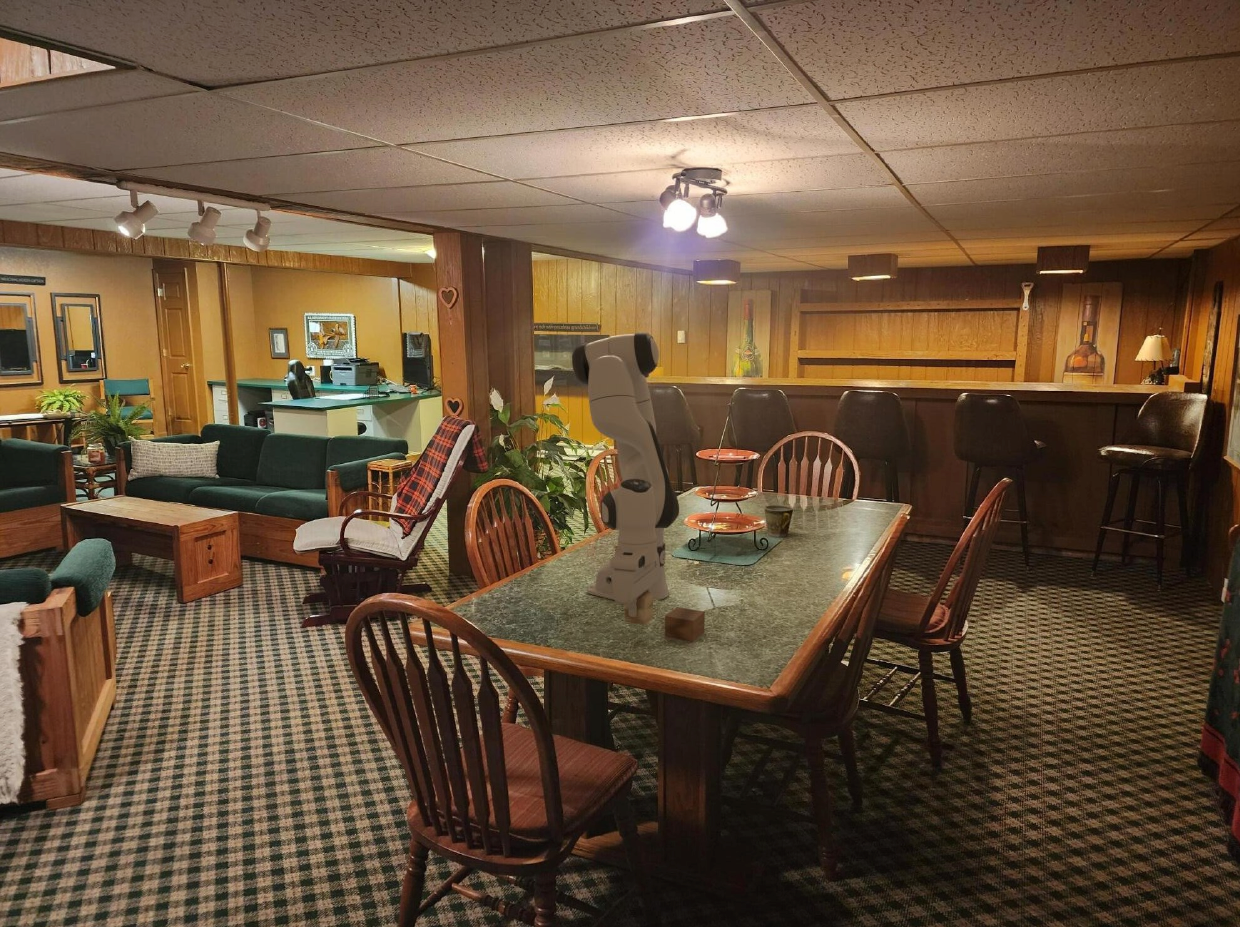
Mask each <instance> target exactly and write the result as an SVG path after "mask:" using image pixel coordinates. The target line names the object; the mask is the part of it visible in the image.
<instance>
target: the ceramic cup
mask: <svg viewBox="0 0 1240 927" xmlns="http://www.w3.org/2000/svg"><path fill="white" fill-rule="evenodd" d="M793 514H794V507H792V506H789V505H783V504H772V505H771V504H770V505H766V506H764V515H765V516H764V517H765V520H766V528H767V529H766V530H767V534H768V536H770V537H772V538H786V537H787V536H788V535H789V531H790V530H789V529H790V526H791V525H790V524H791V521H792V517H793Z"/></svg>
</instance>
